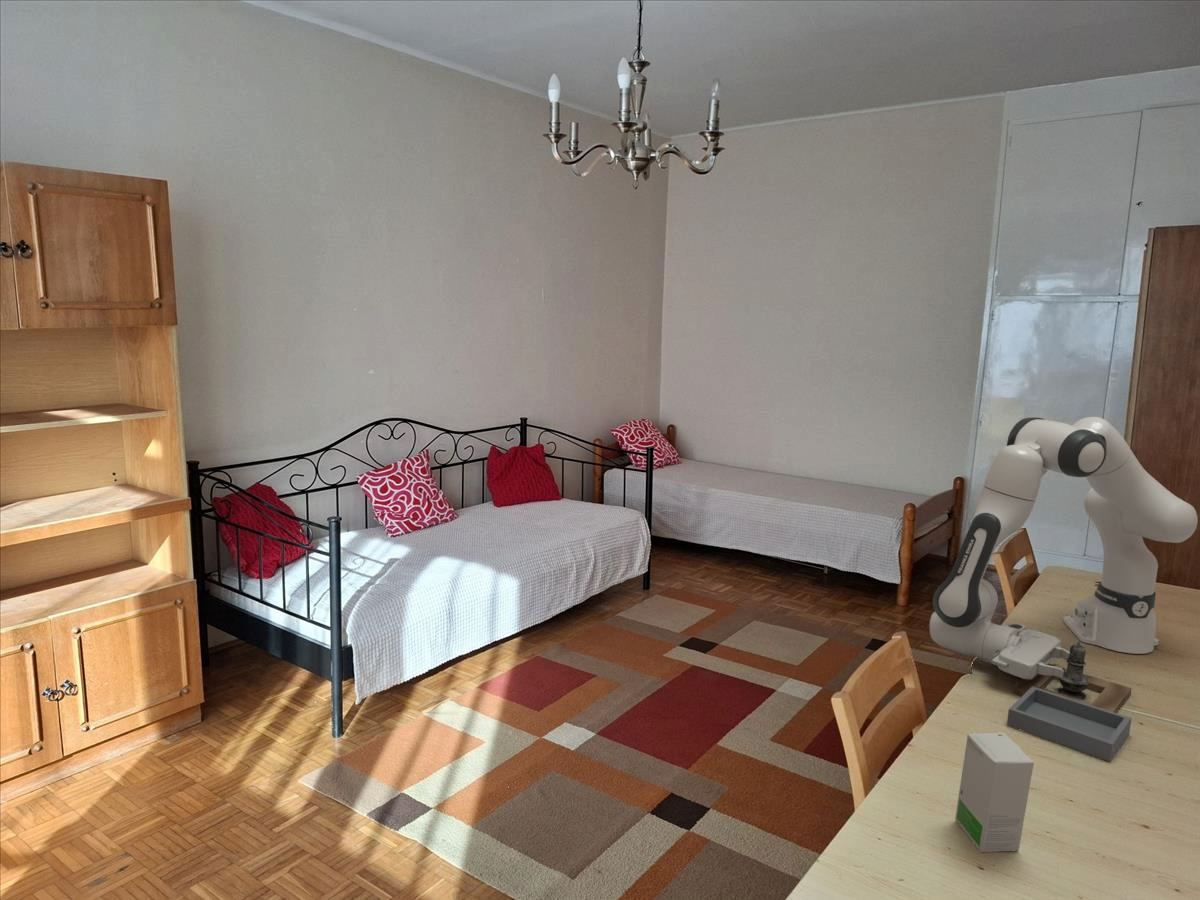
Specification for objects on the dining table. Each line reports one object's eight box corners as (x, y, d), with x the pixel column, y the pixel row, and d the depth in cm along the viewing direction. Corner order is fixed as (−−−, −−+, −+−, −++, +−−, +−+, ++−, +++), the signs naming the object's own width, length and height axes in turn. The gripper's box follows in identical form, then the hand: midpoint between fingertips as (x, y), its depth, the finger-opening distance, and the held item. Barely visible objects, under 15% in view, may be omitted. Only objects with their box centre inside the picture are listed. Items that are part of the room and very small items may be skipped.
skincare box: (954, 820, 134) (964, 731, 131) (993, 818, 134) (1004, 730, 131) (981, 855, 125) (993, 761, 123) (1023, 853, 126) (1035, 760, 123)
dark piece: (1091, 701, 174) (1099, 648, 172) (1061, 698, 175) (1068, 645, 173) (1081, 689, 180) (1089, 637, 178) (1052, 686, 181) (1059, 634, 179)
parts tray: (1006, 725, 164) (1008, 708, 163) (1030, 701, 174) (1032, 686, 173) (1109, 762, 152) (1112, 744, 151) (1129, 734, 161) (1131, 717, 161)
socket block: (1012, 692, 178) (1013, 686, 177) (1040, 667, 190) (1041, 661, 190) (1108, 724, 165) (1109, 717, 165) (1130, 694, 178) (1131, 688, 178)
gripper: (987, 646, 179) (1057, 667, 169) (1020, 621, 193) (1086, 639, 184) (984, 673, 180) (1053, 696, 171) (1017, 646, 194) (1082, 665, 185)
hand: (1070, 666), depth 177 cm, fingers open, 8 cm apart
